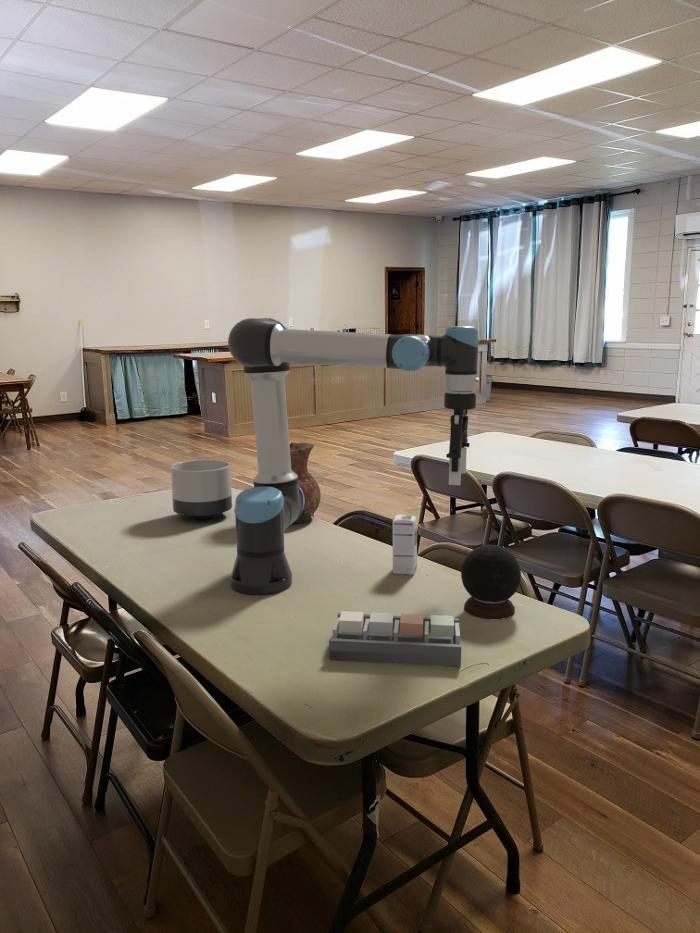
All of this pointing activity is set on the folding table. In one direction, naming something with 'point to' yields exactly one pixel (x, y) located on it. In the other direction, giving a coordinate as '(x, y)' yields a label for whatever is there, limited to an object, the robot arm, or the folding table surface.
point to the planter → (201, 488)
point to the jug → (305, 479)
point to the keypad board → (396, 645)
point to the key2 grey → (381, 623)
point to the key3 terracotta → (411, 624)
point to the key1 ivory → (351, 622)
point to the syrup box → (404, 544)
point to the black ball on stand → (490, 581)
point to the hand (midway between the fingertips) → (457, 478)
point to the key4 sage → (442, 626)
